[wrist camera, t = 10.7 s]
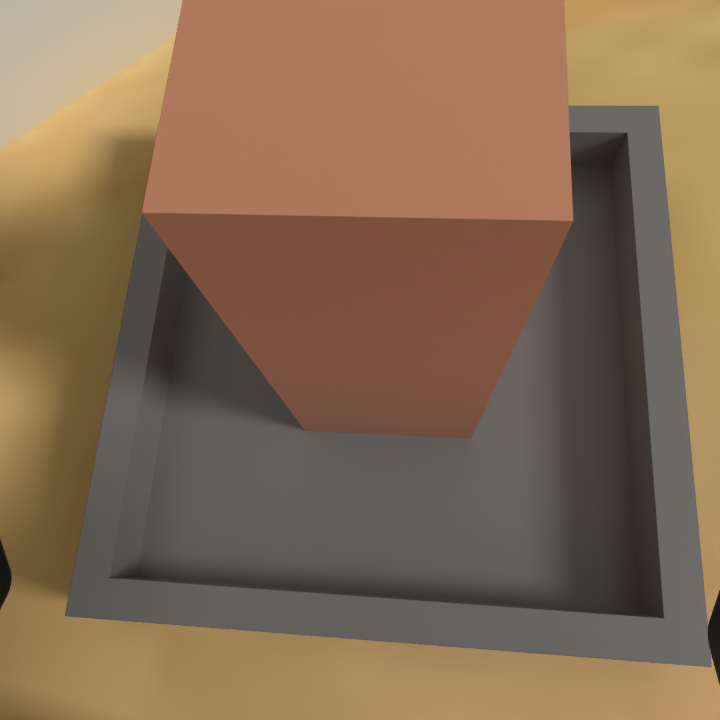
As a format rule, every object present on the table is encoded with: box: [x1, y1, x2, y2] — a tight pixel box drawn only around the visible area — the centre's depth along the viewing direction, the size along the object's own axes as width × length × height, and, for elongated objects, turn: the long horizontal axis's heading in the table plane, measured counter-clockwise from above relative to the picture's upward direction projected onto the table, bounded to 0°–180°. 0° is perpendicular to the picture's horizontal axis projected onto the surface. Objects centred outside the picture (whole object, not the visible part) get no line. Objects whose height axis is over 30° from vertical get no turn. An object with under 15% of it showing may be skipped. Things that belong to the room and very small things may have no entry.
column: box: [142, 0, 573, 439], centre depth 14 cm, size 5×5×12 cm
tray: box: [65, 106, 712, 667], centre depth 19 cm, size 16×16×3 cm
